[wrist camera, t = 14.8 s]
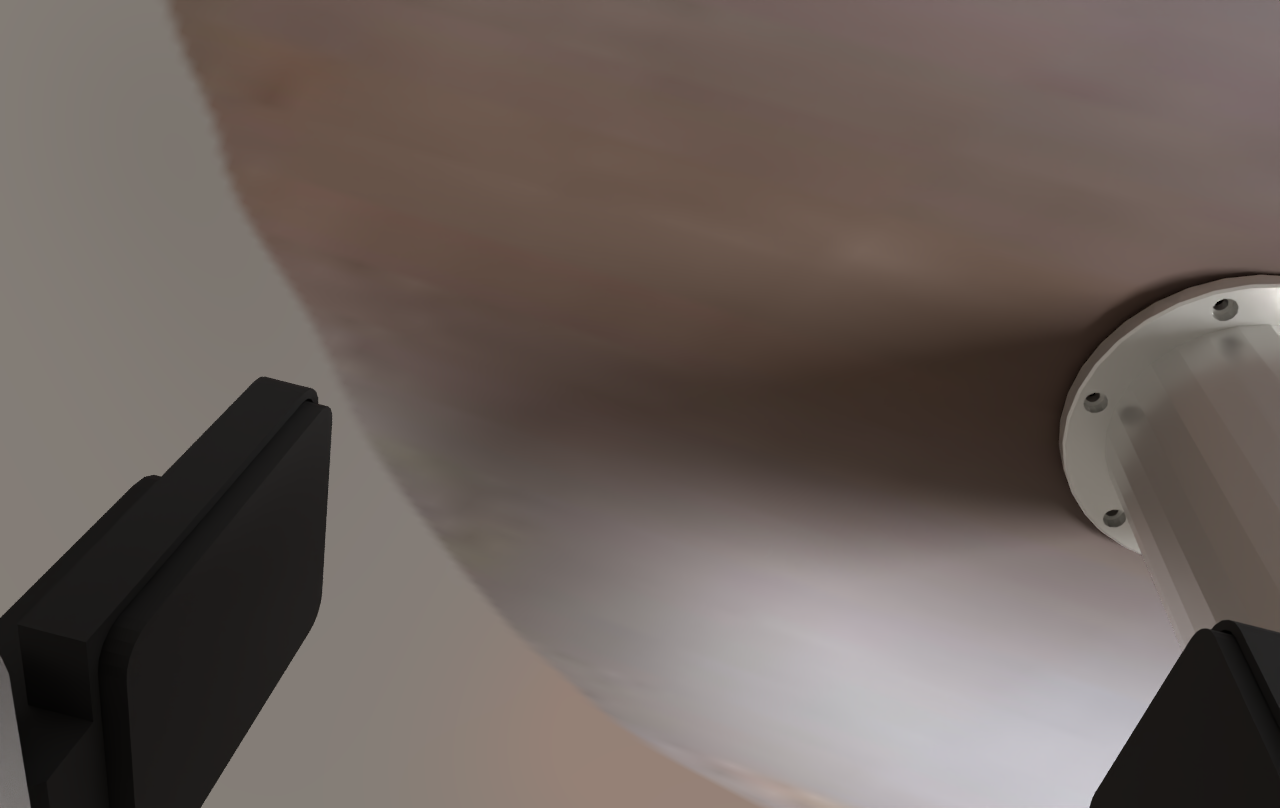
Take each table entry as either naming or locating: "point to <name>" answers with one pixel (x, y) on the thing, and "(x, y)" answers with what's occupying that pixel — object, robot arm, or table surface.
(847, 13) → the table surface
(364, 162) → the table surface
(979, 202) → the table surface
